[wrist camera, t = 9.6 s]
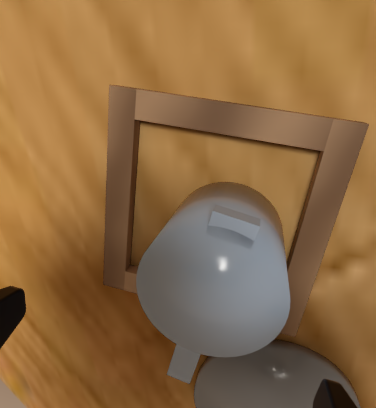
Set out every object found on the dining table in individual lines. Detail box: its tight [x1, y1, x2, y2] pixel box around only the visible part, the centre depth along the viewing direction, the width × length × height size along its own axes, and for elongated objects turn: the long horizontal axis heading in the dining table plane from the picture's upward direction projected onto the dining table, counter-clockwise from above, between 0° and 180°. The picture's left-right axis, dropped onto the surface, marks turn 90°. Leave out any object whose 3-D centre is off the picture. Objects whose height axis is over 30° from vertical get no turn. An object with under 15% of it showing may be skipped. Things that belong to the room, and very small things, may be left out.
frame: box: [103, 85, 369, 337], centre depth 17 cm, size 13×13×1 cm
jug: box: [136, 182, 290, 384], centre depth 16 cm, size 12×6×6 cm, turn 165°
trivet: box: [194, 340, 360, 408], centre depth 21 cm, size 11×11×1 cm
